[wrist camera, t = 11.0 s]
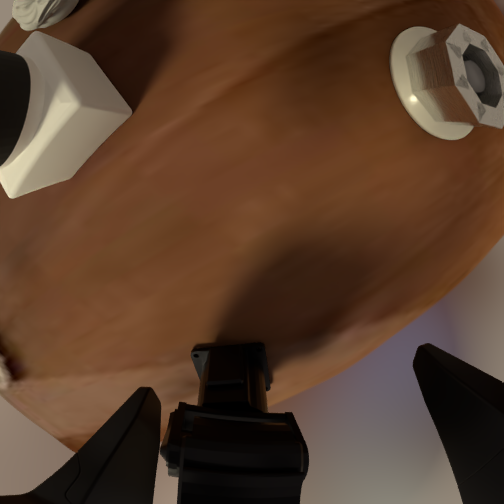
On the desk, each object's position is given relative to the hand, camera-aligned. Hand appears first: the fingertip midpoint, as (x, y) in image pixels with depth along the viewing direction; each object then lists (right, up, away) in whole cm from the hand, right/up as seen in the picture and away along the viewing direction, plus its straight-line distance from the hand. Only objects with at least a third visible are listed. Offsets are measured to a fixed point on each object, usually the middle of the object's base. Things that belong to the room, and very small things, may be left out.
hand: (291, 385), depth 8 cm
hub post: (+14, +18, +7) cm, 24 cm away
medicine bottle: (-14, +14, +7) cm, 21 cm away
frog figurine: (-16, +24, +3) cm, 29 cm away
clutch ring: (+14, +18, +6) cm, 23 cm away
